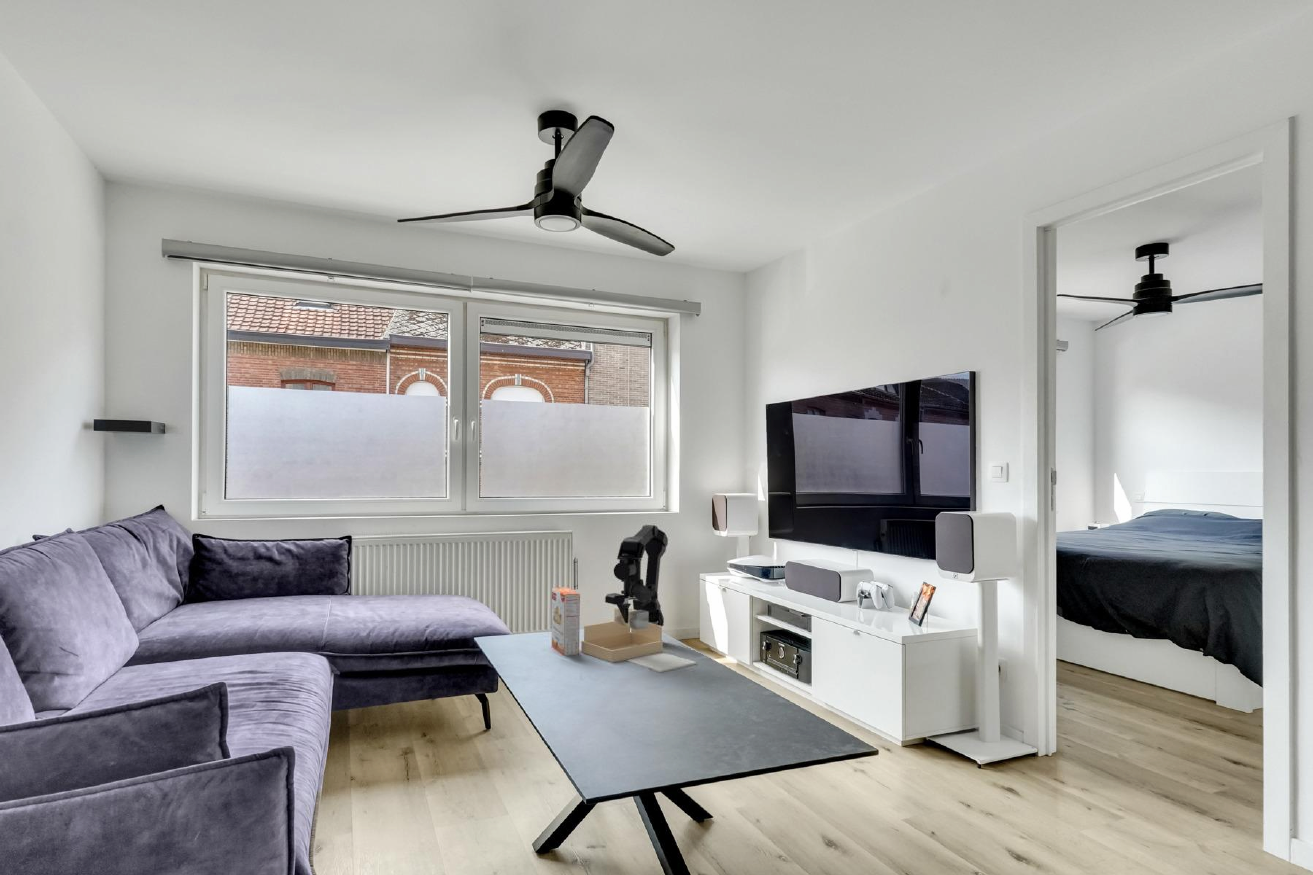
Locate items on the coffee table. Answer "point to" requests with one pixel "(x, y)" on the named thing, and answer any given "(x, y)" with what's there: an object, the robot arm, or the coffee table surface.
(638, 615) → the grey and cream hammer
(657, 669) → the grey mat
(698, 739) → the coffee table surface
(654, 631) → the carton
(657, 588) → the robot arm
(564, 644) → the cracker box
